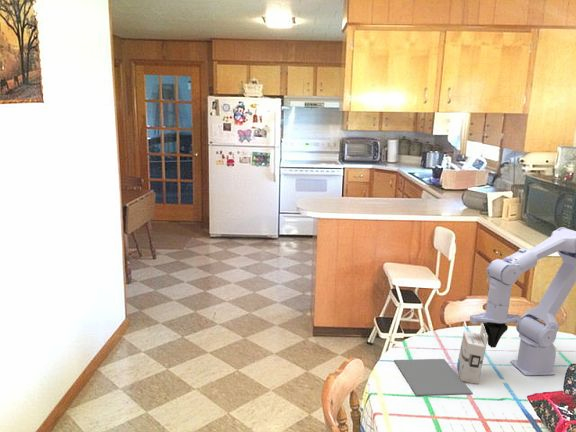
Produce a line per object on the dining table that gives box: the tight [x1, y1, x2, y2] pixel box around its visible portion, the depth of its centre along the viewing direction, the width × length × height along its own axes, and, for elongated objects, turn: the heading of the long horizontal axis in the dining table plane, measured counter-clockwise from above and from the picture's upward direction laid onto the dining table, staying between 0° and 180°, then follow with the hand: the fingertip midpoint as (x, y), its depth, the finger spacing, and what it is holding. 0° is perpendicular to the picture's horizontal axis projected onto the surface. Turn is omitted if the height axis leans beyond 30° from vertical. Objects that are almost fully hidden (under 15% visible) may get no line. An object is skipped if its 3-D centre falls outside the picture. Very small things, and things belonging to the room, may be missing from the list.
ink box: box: [456, 324, 488, 385], centre depth 134 cm, size 9×5×15 cm, turn 168°
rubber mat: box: [393, 358, 474, 397], centre depth 134 cm, size 16×18×1 cm
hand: (491, 345), depth 134 cm, fingers closed
